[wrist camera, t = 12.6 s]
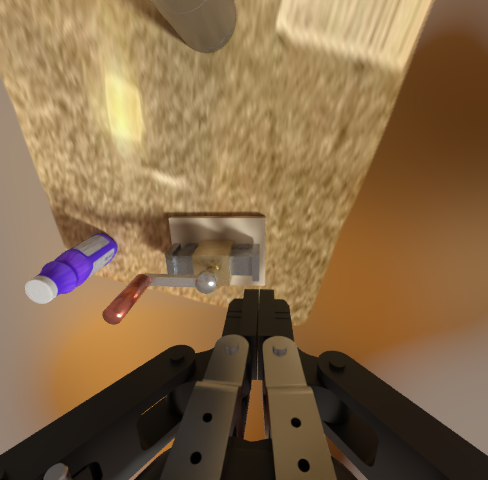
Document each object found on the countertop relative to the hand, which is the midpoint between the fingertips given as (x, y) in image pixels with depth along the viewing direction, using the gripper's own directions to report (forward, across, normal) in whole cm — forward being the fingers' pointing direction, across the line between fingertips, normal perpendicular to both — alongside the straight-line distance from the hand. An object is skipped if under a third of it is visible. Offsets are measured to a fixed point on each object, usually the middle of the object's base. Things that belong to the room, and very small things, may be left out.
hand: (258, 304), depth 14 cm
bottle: (+37, +32, +12) cm, 51 cm away
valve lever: (+25, +14, +12) cm, 31 cm away
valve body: (+35, +9, +13) cm, 39 cm away
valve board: (+37, +9, +12) cm, 40 cm away
